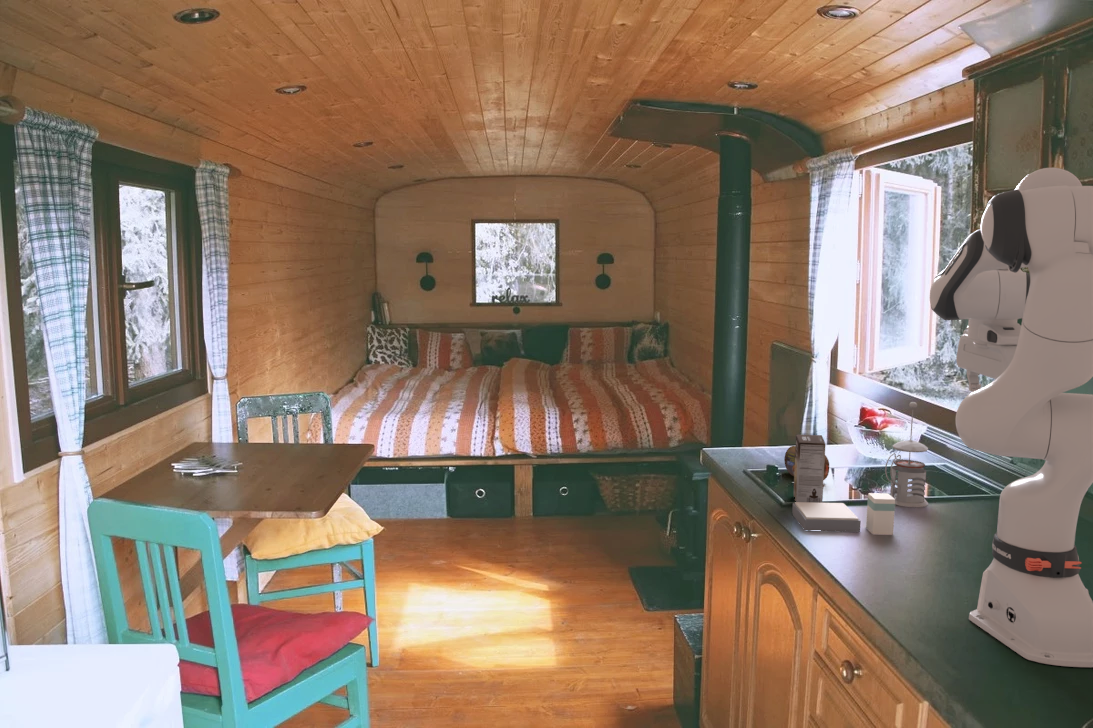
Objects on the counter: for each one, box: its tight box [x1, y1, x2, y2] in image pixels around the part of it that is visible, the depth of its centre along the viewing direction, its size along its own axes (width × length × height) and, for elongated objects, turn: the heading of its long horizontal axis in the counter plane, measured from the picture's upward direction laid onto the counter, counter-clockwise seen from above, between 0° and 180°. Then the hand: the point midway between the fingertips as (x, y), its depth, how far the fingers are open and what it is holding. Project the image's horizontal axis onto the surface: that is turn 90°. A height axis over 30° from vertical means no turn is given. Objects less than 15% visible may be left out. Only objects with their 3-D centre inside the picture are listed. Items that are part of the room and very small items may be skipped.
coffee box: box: [793, 434, 826, 503], centre depth 204 cm, size 9×6×16 cm
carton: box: [865, 492, 896, 536], centre depth 183 cm, size 4×4×8 cm
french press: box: [884, 401, 929, 508], centre depth 204 cm, size 10×12×25 cm
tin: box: [784, 445, 830, 481], centre depth 226 cm, size 15×3×8 cm, turn 25°
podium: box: [791, 501, 862, 533], centre depth 189 cm, size 12×12×3 cm
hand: (986, 396), depth 173 cm, fingers open, 8 cm apart
